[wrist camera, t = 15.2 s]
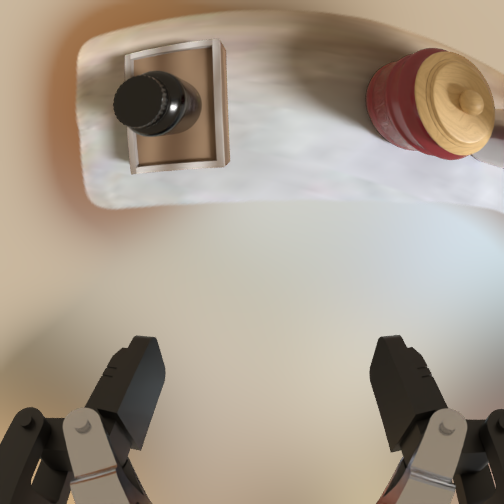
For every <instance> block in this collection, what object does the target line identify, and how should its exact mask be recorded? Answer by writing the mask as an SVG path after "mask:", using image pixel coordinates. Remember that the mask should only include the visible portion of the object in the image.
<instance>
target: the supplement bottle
mask: <svg viewBox="0 0 504 504" xmlns="http://www.w3.org/2000/svg"><path fill="white" fill-rule="evenodd" d="M113 106H114V111H115V115H116V116H117V119H119V121H120V122H122V123H123V124H124V125H127V127H128V128H129V129H130V130H131V131H133V132H134V133H136V134H138V135H141V136H144V137H158V136H165V135H172V134H178V133H182V132H184V131H186V130H188V129H189V128H191V127H192V126H193V125H194V124H195V123H196V121H197V120H198V118H199V116H200V114H201V110H202V100H201V97H200V94H199V92H198V91H197V90H196V88H195V87H194V86H192V85H191V84H190V83H188V82H186V81H184V80H182V79H181V78H179V77H177V76H175V75H173V74H171V73H168V72H165V71H160V70H155V71H149V72H145V73H143V74H141V75H137V76H133V77H132V78H129V79H128V80H127V81H125V82H124V83H123V84H122V85H120V87H119V89H118V90H117V93H116V94H115V98H114V103H113Z"/></svg>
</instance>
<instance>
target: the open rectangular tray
mask: <svg viewBox="0 0 504 504" xmlns="http://www.w3.org/2000/svg"><path fill="white" fill-rule="evenodd" d="M155 70H160V71H165V72H168V73H171V74H173V75H175V76H177V77H179V78H181V79H182V80H184V81H186V82H188V83H190V84H191V85H192V86H194V87H195V88H196V90H197V91H198V92H199V94H200V97H201V100H202V110H201V114H200V116H199V118H198V120H197V121H196V123H195V124H194V125H193V126H192V127H191V128H189V129H188V130H186V131H184V132H182V133H178V134H172V135H165V136H158V137H144V136H141V135H138V134H136V133H134V132H133V131H131V130H130V129H129V128H128V127H127V136H128V149H129V159H130V169H131V174H140V173H149V172H160V171H171V170H184V169H199V168H217V167H225V166H226V165H227V164H228V163H229V162H230V148H229V125H228V99H227V70H226V50H225V48H224V46H223V44H222V43H221V41H220V39H209V40H201V41H193V42H186V43H180V44H174V45H168V46H163V47H157V48H153V49H148V50H143V51H139V52H135V53H131V54H127V55H125V81H127V80H128V79H129V78H132V77H133V76H137V75H141V74H143V73H145V72H149V71H155Z"/></svg>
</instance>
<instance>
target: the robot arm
mask: <svg viewBox="0 0 504 504" xmlns="http://www.w3.org/2000/svg"><path fill="white" fill-rule="evenodd" d="M472 156H473V157H474V158H476V159H477V160H479V161H481V162H484V163H487V164H491V165H494V166H497V167H500V168H503V169H504V109H495V122H494V128H493V131H492V134H491V136H490V139H489V140H488V142H487V143H486V145H485V146H484V147H483V148H482V149H481V150H479V151H478V152H476V153H474V154H472ZM164 381H165V366H164V362H163V359H162V355H161V352H160V349H159V345H158V342H157V339H156V338H155V337H147V336H135V337H134V338H133V340H132V341H131V343H130V345H129V347H128V348H122V349H121V350H119V351H118V352H117V353H116V354H115V355H113V357H112V358H111V360H110V362H109V364H108V365H107V368H106V369H105V371H104V372H103V376H101V378H100V380H99V381H98V383H97V385H96V387H95V389H94V391H93V393H92V395H91V396H90V398H89V400H88V402H87V404H86V406H85V407H84V408H78V409H75V410H74V411H71V412H70V413H69V414H68V415H67V416H66V417H65V418H45V417H44V416H43V414H42V413H41V412H40V411H39V410H38V409H36V408H33V407H29V408H25V409H22V410H21V411H19V412H18V413H17V414H16V416H15V417H14V419H13V421H12V423H11V424H10V426H9V428H8V430H7V432H6V434H5V436H4V438H3V440H2V442H1V444H0V504H67V500H68V497H69V494H70V491H72V495H73V498H74V501H75V504H152V502H151V501H150V499H149V498H148V496H147V494H146V492H145V490H144V488H143V487H142V485H141V483H140V481H139V478H138V476H137V474H136V472H135V470H134V468H133V466H132V464H131V462H130V459H129V457H128V453H129V451H130V448H131V449H136V450H141V449H142V446H143V443H144V439H145V437H146V434H147V431H148V427H149V424H150V422H151V419H152V416H153V413H154V410H155V407H156V404H157V401H158V398H159V395H160V393H161V390H162V387H163V384H164ZM370 382H371V385H372V388H373V392H374V395H375V398H376V401H377V405H378V408H379V411H380V415H381V418H382V422H383V425H384V429H385V432H386V436H387V440H388V443H389V447H390V451H391V452H395V451H399V450H402V454H403V457H402V459H401V460H400V462H399V464H398V466H397V468H396V470H395V472H394V474H393V476H392V478H391V479H390V481H389V483H388V485H387V487H386V488H385V490H384V492H383V494H382V496H381V497H380V499H379V500H378V501H377V503H376V504H450V503H451V501H452V498H453V496H454V493H455V489H456V493H457V497H458V501H459V504H504V409H498V410H495V411H493V412H492V413H491V414H490V415H489V416H488V418H487V419H486V420H466V419H465V418H464V416H463V415H462V414H460V413H459V412H458V411H456V410H453V409H448V407H447V405H446V403H445V401H444V399H443V396H442V395H441V392H440V390H439V388H438V386H437V384H436V382H435V380H434V378H433V377H432V374H431V372H430V370H429V368H427V364H426V362H425V360H424V359H423V357H422V356H421V354H419V353H418V352H417V351H416V350H415V349H414V348H413V347H410V348H407V347H406V345H405V343H404V341H403V339H402V337H401V336H400V335H394V336H384V337H380V338H379V339H378V342H377V346H376V349H375V353H374V356H373V359H372V363H371V366H370ZM39 459H41V462H40V465H39V467H38V470H37V472H36V475H35V477H34V480H33V483H32V485H31V478H32V476H33V473H34V471H35V469H36V466H37V464H38V461H39ZM488 463H489V464H490V467H491V470H492V474H493V477H494V480H495V484H496V489H495V485H494V482H493V478H492V475H491V472H490V469H489V466H488ZM452 479H453V480H454V483H452Z"/></svg>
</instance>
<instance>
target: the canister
mask: <svg viewBox="0 0 504 504" xmlns="http://www.w3.org/2000/svg"><path fill="white" fill-rule="evenodd" d="M366 107H367V111H368V115H369V117H370V120H371V122H372V124H373V125H374V127H375V128H376V130H377V131H378V132H379V133H380V134H381V135H382V136H383V137H384V138H385V139H386V140H387V141H389V142H390V143H392V144H393V145H395V146H397V147H400V148H403V149H406V150H413V151H420V152H422V153H424V154H427V155H432V156H436V157H439V158H442V159H446V160H457V159H461V158H464V157H466V156H468V155H471V154H474V153H476V152H478V151H479V150H481V149H482V148H483V147H484V146H485V145H486V143H487V142H488V140H489V139H490V136H491V134H492V131H493V128H494V122H495V107H494V101H493V96H492V93H491V90H490V88H489V85H488V83H487V81H486V80H485V78H484V76H483V75H482V73H481V72H480V71H479V70H478V68H477V67H476V66H475V65H474V64H473V63H471V62H470V61H469V60H468V59H466V58H465V57H463V56H461V55H459V54H456V53H453V52H448V51H446V50H443V49H438V48H426V49H422V50H420V51H417V52H416V53H414V54H410V55H407V56H405V57H403V58H402V59H400V60H399V61H396V62H392V63H389V64H387V65H385V66H383V67H381V68H380V69H379V70H378V71H377V72H376V73H375V74H374V76H373V77H372V79H371V80H370V82H369V85H368V88H367V92H366Z"/></svg>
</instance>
